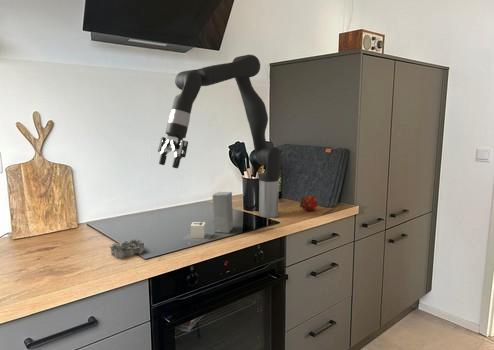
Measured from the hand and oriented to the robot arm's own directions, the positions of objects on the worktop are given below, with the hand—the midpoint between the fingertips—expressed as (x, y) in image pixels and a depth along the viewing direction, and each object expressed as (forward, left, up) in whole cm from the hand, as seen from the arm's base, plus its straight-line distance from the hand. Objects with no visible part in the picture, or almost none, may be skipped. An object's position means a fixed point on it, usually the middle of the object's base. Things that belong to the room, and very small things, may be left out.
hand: (168, 166), depth 135 cm
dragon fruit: (-58, +51, -29) cm, 83 cm away
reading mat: (-6, +9, -28) cm, 30 cm away
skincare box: (-16, +17, -29) cm, 37 cm away
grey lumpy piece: (+16, -9, -29) cm, 34 cm away
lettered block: (-6, +9, -28) cm, 30 cm away
